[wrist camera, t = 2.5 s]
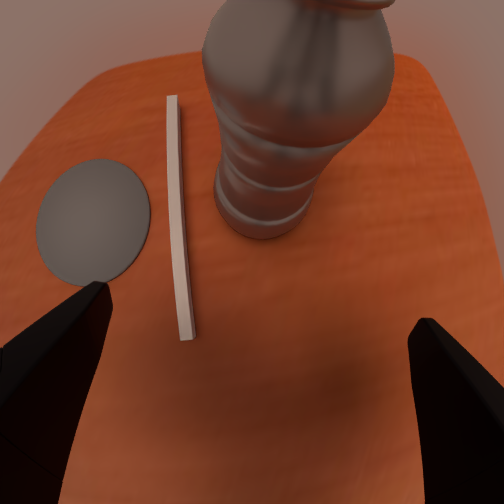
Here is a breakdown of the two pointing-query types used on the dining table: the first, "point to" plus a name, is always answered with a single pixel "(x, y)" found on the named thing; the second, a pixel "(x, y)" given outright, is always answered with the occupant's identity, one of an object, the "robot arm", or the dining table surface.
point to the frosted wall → (178, 222)
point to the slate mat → (93, 222)
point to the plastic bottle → (290, 99)
